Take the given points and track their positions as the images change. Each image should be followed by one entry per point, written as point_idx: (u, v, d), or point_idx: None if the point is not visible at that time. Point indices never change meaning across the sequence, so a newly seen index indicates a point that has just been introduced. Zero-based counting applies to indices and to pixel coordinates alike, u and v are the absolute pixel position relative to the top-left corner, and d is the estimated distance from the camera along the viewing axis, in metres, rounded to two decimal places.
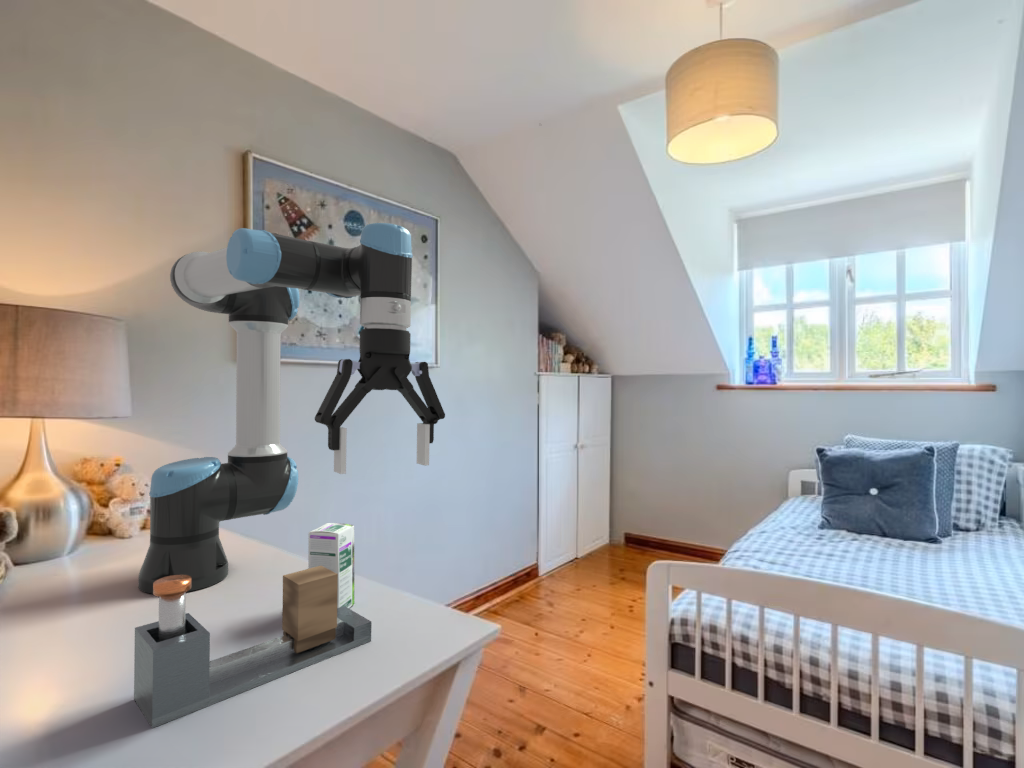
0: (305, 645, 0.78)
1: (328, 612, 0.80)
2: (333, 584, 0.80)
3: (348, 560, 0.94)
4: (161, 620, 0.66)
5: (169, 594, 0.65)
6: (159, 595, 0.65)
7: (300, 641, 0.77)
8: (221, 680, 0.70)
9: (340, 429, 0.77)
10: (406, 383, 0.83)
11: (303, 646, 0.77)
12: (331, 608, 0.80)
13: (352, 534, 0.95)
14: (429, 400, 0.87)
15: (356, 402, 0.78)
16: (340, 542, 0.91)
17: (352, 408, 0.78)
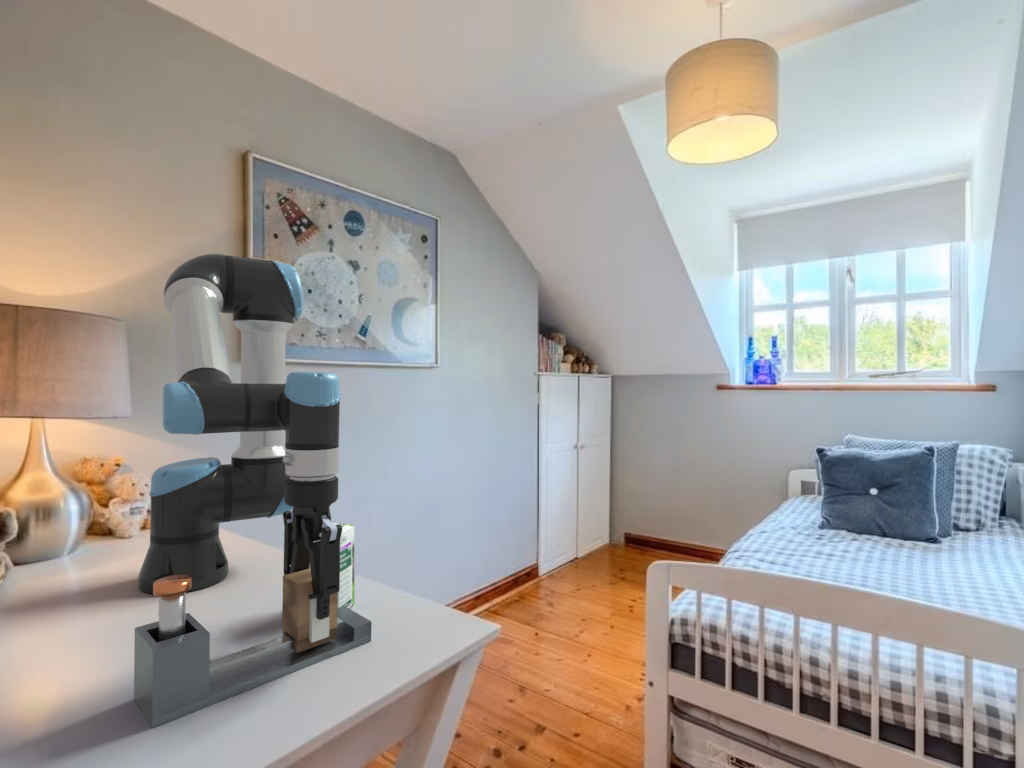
0: (305, 645, 0.78)
1: None
2: None
3: (348, 560, 0.94)
4: (161, 620, 0.66)
5: (169, 594, 0.65)
6: (159, 595, 0.65)
7: (300, 641, 0.77)
8: (221, 680, 0.70)
9: None
10: (305, 539, 0.78)
11: (303, 646, 0.77)
12: (331, 608, 0.80)
13: (352, 534, 0.95)
14: None
15: (294, 555, 0.81)
16: (340, 541, 0.91)
17: (294, 562, 0.81)
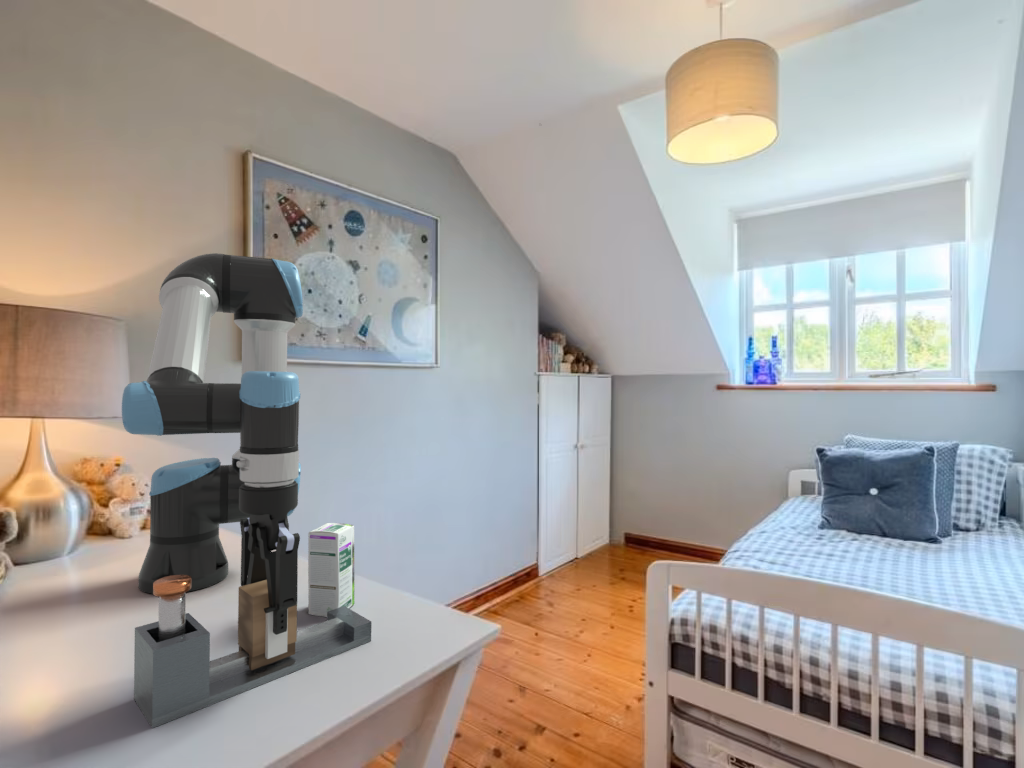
0: (261, 661, 0.73)
1: None
2: None
3: (348, 560, 0.94)
4: (161, 620, 0.66)
5: (169, 594, 0.65)
6: (159, 595, 0.65)
7: (255, 657, 0.72)
8: (221, 680, 0.70)
9: None
10: (261, 549, 0.73)
11: (259, 663, 0.73)
12: (290, 621, 0.75)
13: (352, 534, 0.95)
14: None
15: (251, 566, 0.76)
16: (340, 541, 0.91)
17: (250, 573, 0.76)
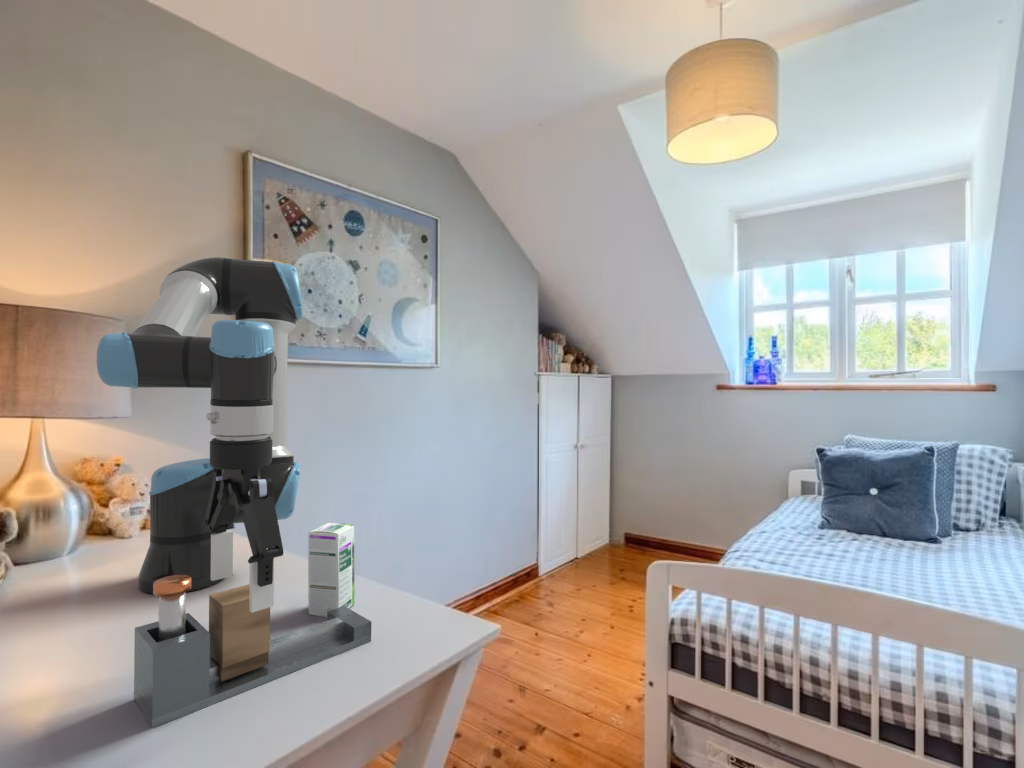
0: (232, 672, 0.70)
1: (259, 635, 0.72)
2: None
3: (347, 560, 0.94)
4: (161, 620, 0.66)
5: (169, 594, 0.65)
6: (159, 595, 0.65)
7: (225, 668, 0.70)
8: None
9: None
10: (235, 503, 0.70)
11: (229, 674, 0.70)
12: (263, 630, 0.73)
13: (352, 534, 0.95)
14: None
15: (218, 512, 0.75)
16: (340, 541, 0.91)
17: (216, 517, 0.76)
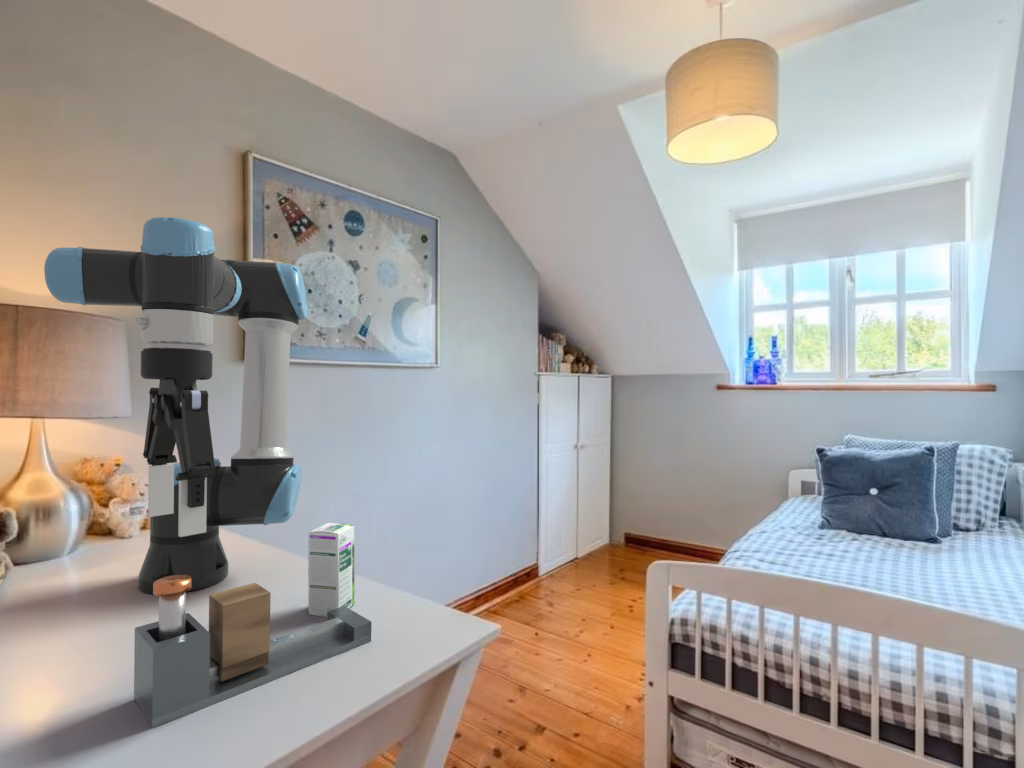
0: (232, 672, 0.70)
1: (259, 635, 0.72)
2: (266, 604, 0.73)
3: (348, 560, 0.94)
4: (161, 620, 0.66)
5: (169, 594, 0.65)
6: (159, 595, 0.65)
7: (225, 668, 0.70)
8: None
9: None
10: (167, 417, 0.64)
11: (229, 674, 0.70)
12: (263, 630, 0.73)
13: (352, 534, 0.95)
14: None
15: (154, 437, 0.69)
16: (340, 541, 0.91)
17: (153, 444, 0.69)
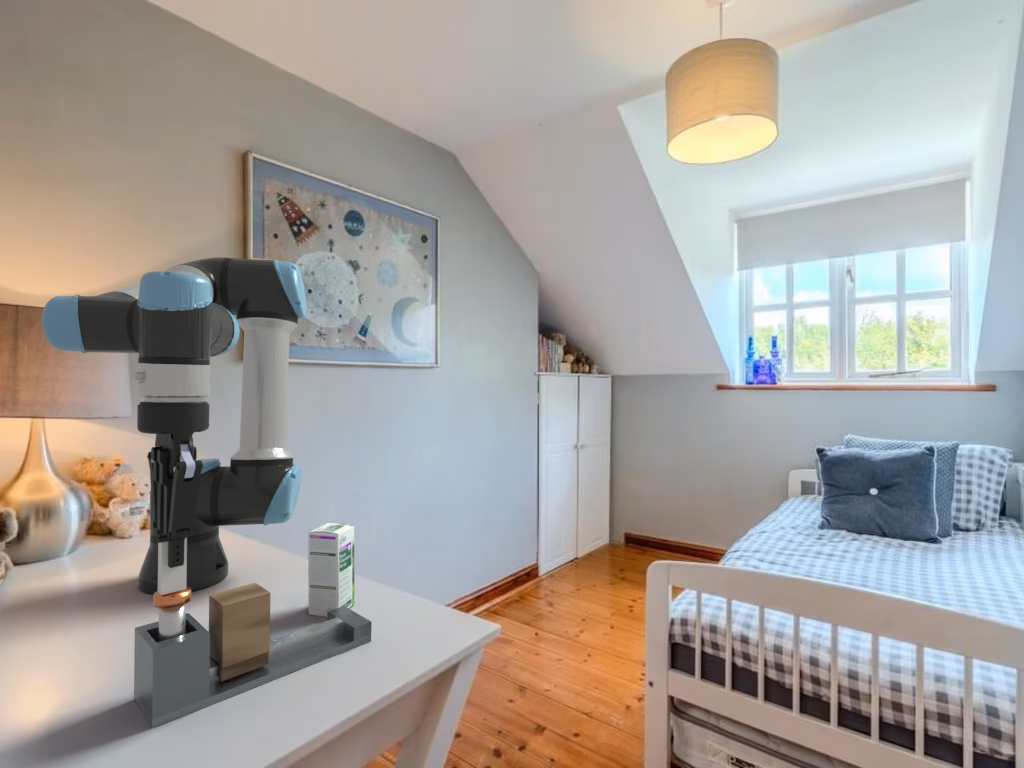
0: (232, 672, 0.70)
1: (259, 635, 0.72)
2: (266, 604, 0.73)
3: (348, 560, 0.94)
4: (161, 632, 0.66)
5: (169, 606, 0.65)
6: (159, 607, 0.65)
7: (225, 668, 0.70)
8: None
9: None
10: (160, 473, 0.65)
11: (229, 674, 0.70)
12: (263, 630, 0.73)
13: (352, 534, 0.95)
14: None
15: (159, 499, 0.66)
16: (340, 541, 0.91)
17: (159, 508, 0.66)
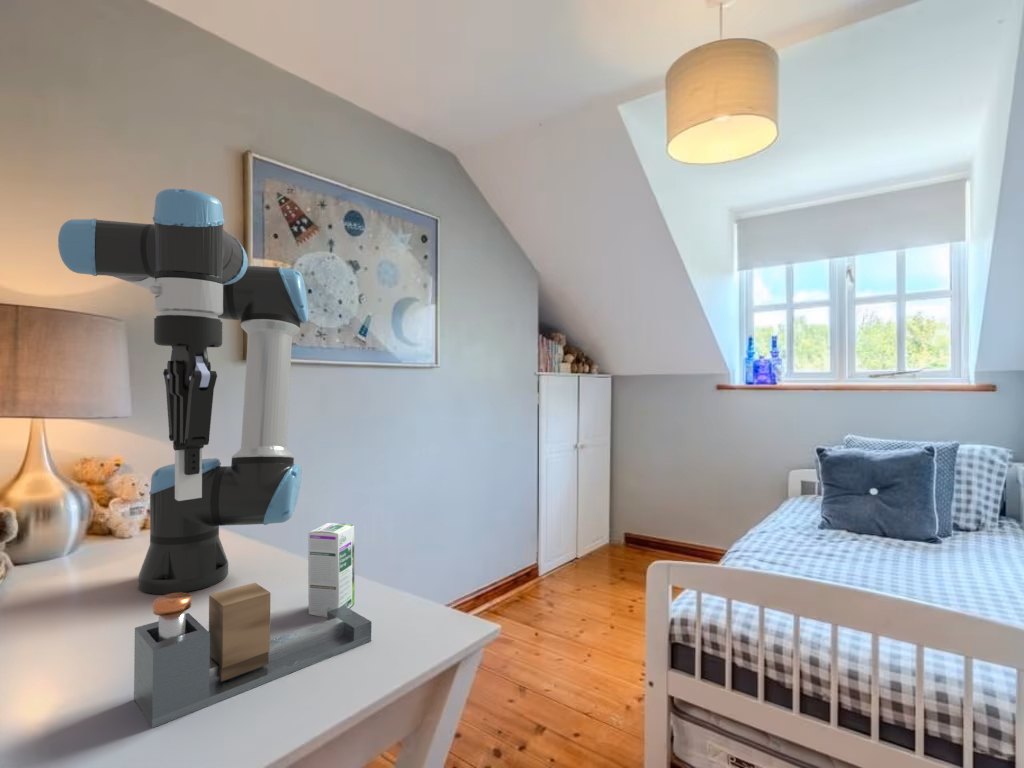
0: (232, 672, 0.70)
1: (259, 635, 0.72)
2: (266, 604, 0.73)
3: (348, 560, 0.94)
4: (161, 639, 0.66)
5: (169, 613, 0.65)
6: (159, 614, 0.65)
7: (225, 668, 0.70)
8: None
9: None
10: (176, 384, 0.67)
11: (229, 674, 0.70)
12: (263, 630, 0.73)
13: (352, 534, 0.95)
14: None
15: (175, 411, 0.70)
16: (340, 541, 0.91)
17: (175, 419, 0.69)
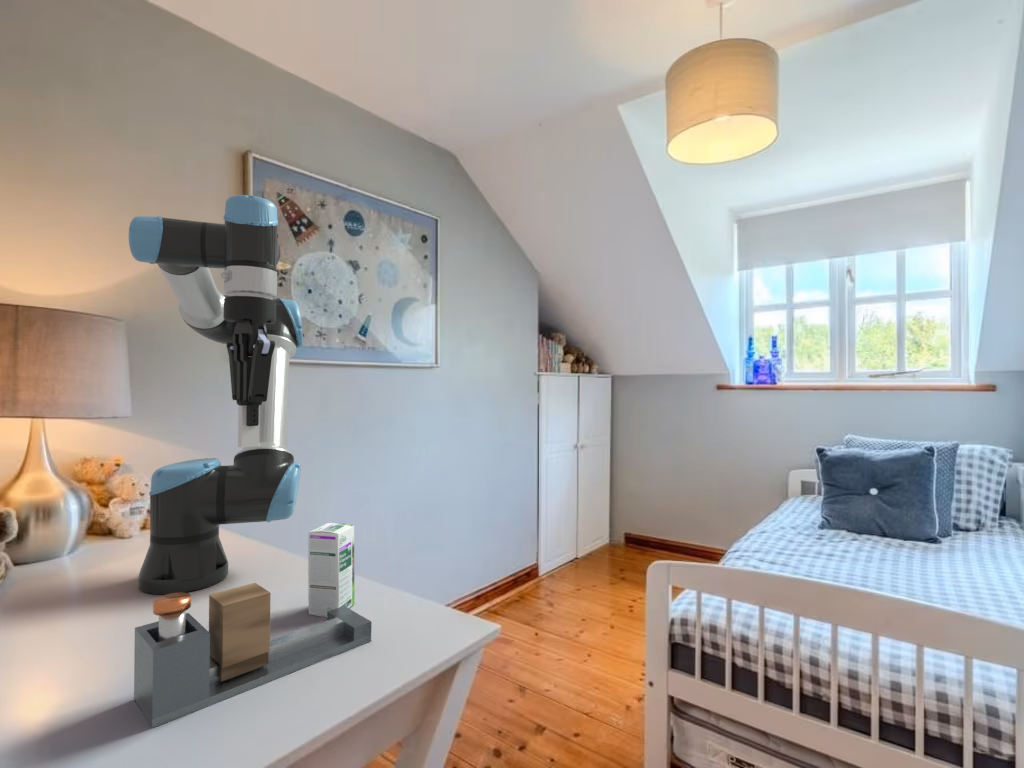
0: (232, 672, 0.70)
1: (259, 635, 0.72)
2: (266, 604, 0.73)
3: (347, 560, 0.94)
4: (161, 639, 0.66)
5: (169, 613, 0.65)
6: (159, 614, 0.65)
7: (225, 668, 0.70)
8: None
9: (240, 406, 0.85)
10: (241, 352, 0.83)
11: (229, 674, 0.70)
12: (263, 630, 0.73)
13: (352, 534, 0.95)
14: None
15: (238, 375, 0.85)
16: (340, 541, 0.91)
17: (238, 381, 0.85)
